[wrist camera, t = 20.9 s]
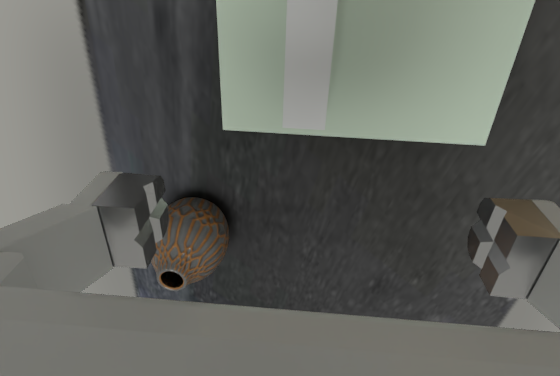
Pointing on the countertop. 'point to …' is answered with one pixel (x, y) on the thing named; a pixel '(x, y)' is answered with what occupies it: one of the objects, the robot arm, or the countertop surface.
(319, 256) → the countertop surface
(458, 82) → the lid
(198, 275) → the vase
